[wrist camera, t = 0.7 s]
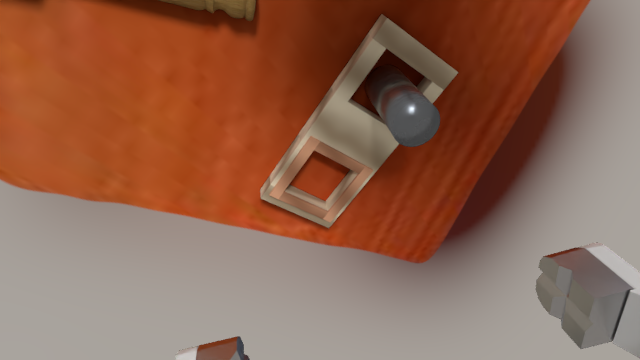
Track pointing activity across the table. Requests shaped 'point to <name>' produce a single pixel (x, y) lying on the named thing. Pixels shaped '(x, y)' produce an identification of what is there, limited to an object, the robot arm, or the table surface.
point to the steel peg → (402, 106)
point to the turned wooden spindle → (221, 6)
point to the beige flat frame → (352, 126)
